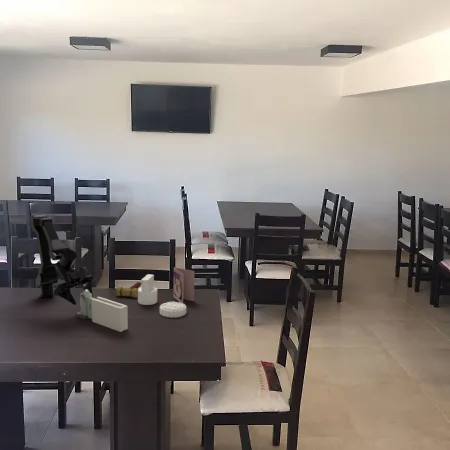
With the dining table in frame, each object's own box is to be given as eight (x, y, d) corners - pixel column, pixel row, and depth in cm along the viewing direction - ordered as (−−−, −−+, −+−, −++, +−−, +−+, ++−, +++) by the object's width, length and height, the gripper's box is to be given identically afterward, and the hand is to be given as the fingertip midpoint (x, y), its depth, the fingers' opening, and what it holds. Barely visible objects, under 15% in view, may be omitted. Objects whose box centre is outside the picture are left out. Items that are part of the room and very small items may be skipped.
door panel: (87, 317, 216) (87, 297, 215) (90, 316, 218) (89, 296, 216) (107, 324, 210) (106, 304, 208) (109, 323, 211) (109, 303, 209)
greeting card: (171, 297, 245) (172, 267, 242) (185, 295, 249) (186, 265, 246) (181, 304, 236) (181, 274, 232) (195, 302, 239) (196, 272, 236)
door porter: (75, 316, 218) (74, 289, 216) (84, 312, 222) (84, 286, 220) (84, 319, 215) (83, 292, 213) (93, 316, 219) (93, 289, 217)
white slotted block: (92, 321, 213) (91, 299, 211) (99, 318, 216) (98, 296, 214) (120, 331, 204) (120, 308, 202) (127, 328, 207) (127, 305, 205)
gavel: (131, 277, 263) (149, 279, 261) (131, 286, 264) (149, 288, 262) (115, 288, 243) (135, 289, 241) (115, 297, 243) (135, 299, 242)
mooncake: (190, 310, 230) (190, 303, 229) (179, 319, 219) (179, 312, 218) (166, 306, 234) (166, 299, 233) (154, 315, 223) (154, 307, 222)
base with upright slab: (153, 305, 233) (153, 281, 231) (135, 303, 235) (135, 279, 233) (159, 299, 242) (159, 275, 240) (142, 297, 244) (142, 273, 241)
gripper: (56, 266, 209) (75, 297, 206) (92, 257, 224) (109, 286, 221) (45, 280, 215) (63, 311, 212) (80, 270, 230) (97, 299, 227)
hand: (84, 301), depth 217 cm, fingers open, 9 cm apart
